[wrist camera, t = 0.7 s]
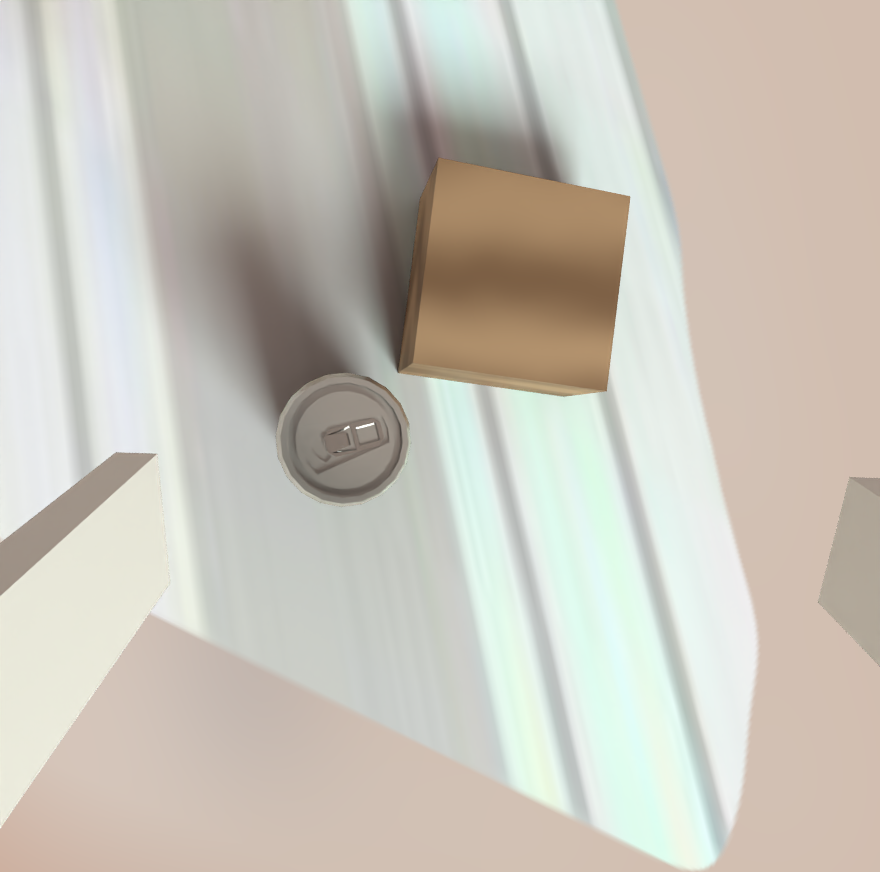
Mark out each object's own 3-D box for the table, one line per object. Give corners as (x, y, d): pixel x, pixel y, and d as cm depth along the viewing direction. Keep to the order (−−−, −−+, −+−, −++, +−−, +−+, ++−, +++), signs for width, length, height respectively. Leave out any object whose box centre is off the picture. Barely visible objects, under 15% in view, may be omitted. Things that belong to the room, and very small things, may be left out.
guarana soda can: (370, 377, 38) (394, 355, 27) (394, 469, 39) (429, 488, 27) (275, 401, 37) (257, 389, 26) (301, 495, 38) (295, 526, 26)
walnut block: (419, 198, 39) (438, 157, 33) (584, 230, 40) (630, 196, 35) (398, 372, 39) (412, 363, 33) (564, 396, 40) (606, 391, 34)
